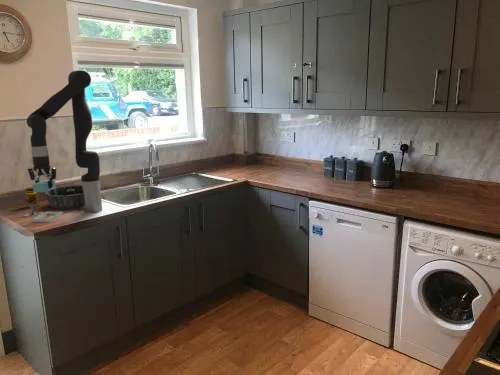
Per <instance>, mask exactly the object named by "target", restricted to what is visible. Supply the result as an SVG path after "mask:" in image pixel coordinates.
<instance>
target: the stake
mask: <svg viewBox="0 0 500 375" xmlns="http://www.w3.org/2000/svg"><path fill="white" fill-rule="evenodd" d="M28 206H31V208H30V211H29V212H28V213H26V214H24V215H22V217H37V216H39V215H41V214H43V213H45V211H36V207H35V206H37V204H28Z"/></svg>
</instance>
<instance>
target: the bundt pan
mask: <svg viewBox="0 0 500 375" xmlns="http://www.w3.org/2000/svg"><path fill="white" fill-rule="evenodd" d="M45 196H46V198H47V201H48V204H49V206H50V207H51V208H53V209H55V210H61V211H62V210H72V209H73V210H74V209H78V208H81V209H82V208H84V200H83V191H82V184H80V185H79V184H73V185H64V186H58V187H56V188H53V189H51V190H48V191H46V192H45Z"/></svg>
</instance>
